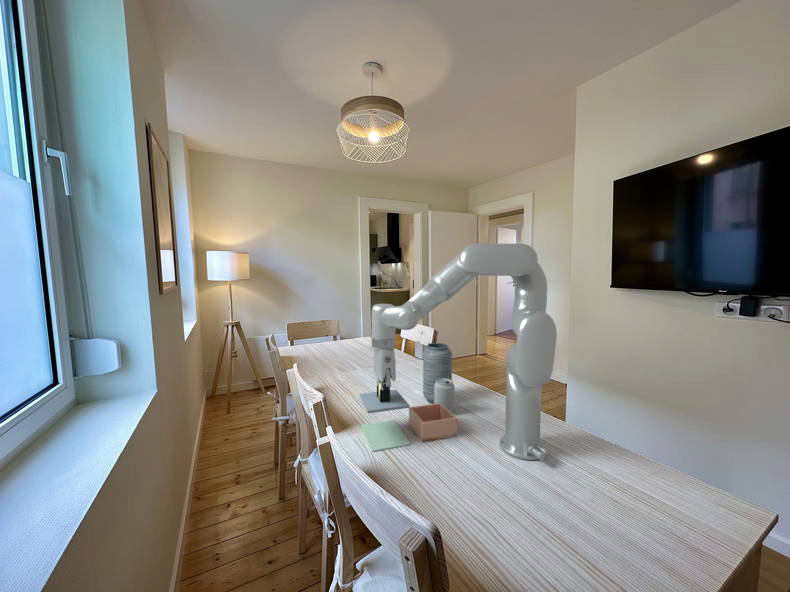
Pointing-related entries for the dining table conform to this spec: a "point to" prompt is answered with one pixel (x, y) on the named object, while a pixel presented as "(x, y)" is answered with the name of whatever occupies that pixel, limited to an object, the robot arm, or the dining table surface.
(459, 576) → the dining table surface
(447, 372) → the vase
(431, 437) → the salmon open box
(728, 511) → the dining table surface
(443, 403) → the can
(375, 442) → the mat
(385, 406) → the lid
